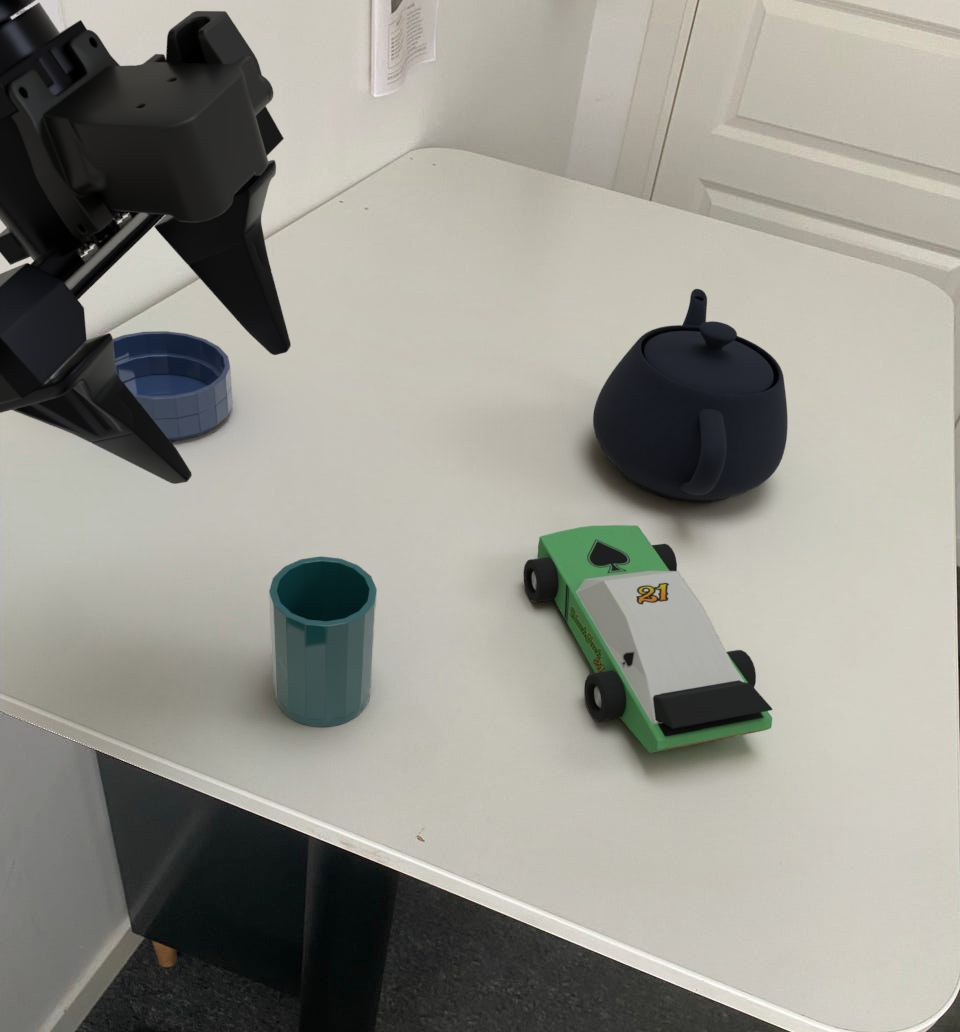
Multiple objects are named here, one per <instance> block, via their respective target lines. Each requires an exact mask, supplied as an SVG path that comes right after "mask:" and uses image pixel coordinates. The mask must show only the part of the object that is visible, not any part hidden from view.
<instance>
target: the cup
mask: <svg viewBox="0 0 960 1032" xmlns="http://www.w3.org/2000/svg"><path fill="white" fill-rule="evenodd" d="M377 593H378V588H377V586H376V584H375V582H374V579H373V578H372V575H371V574H369V573H368V572H367V571H366V570H364V569H363V568H362V567H361V566H360V565H358V564H356V563H353V562H352V561H348V560H347V559H346V560H345V559H343V558H340V557H329V556H323V555H322V556H314V557H306V558H301V559H298V560H296V561H294V562H292V563H289V564H287V565H285V566H284V567H282V568H281V569H280V570H279V571H278V572H277V573H276V574H275V575H274V576H273V578H272V580H271V584H270V586H269V590H268V595H269V597H268V598H269V616H270V617H269V618H270V620H269V621H270V639H271V663H272V683H273V684H272V685H273V689H274V699H275V701H276V703H277V706H278V708H279V709H280V710H281V711H282V712H283V713H284V714H285V716H287V717H288V718H290V720H293V721H295V722H297V723H300V724H302V725H305V726H309V727H318V728H319V727H320V728H326V727H334V726H340V725H342V724H345V723H348V722H349V721H351V720H354V718H356V717H357V716H359V715H360V714H361V713H362V712H363V710H364V709H366V707H367V705H368V703H369V700H370V697H371V688H372V687H371V686H372V680H373V679H372V678H373V677H372V676H373V662H374V661H373V660H374V642H375V627H376V612H377V611H376V610H377Z"/></svg>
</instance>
